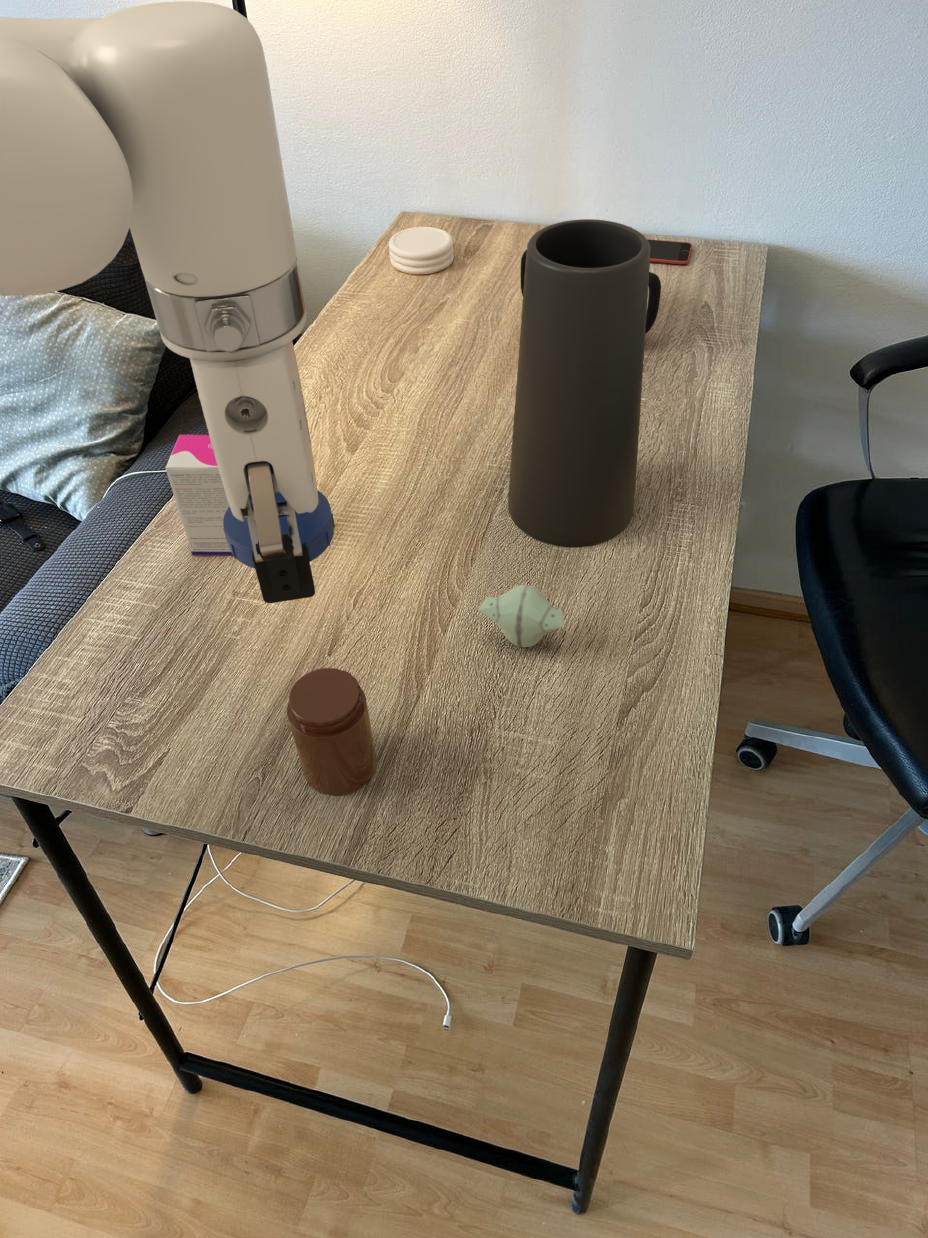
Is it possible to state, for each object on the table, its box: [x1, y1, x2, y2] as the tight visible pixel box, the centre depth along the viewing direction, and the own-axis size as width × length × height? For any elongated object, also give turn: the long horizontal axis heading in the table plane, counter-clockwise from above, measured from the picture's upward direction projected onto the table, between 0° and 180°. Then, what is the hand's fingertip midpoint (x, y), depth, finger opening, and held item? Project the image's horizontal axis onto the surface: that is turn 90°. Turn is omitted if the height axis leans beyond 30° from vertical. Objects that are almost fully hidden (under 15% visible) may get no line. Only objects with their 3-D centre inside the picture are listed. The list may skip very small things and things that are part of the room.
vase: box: [507, 218, 651, 548], centre depth 88 cm, size 14×14×29 cm
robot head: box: [477, 584, 565, 648], centre depth 82 cm, size 8×4×7 cm, turn 73°
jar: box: [286, 667, 378, 796], centre depth 72 cm, size 6×6×9 cm
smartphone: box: [646, 238, 693, 265], centre depth 139 cm, size 7×1×14 cm
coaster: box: [388, 226, 455, 276], centre depth 139 cm, size 10×10×4 cm
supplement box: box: [165, 434, 234, 556], centre depth 92 cm, size 6×6×12 cm
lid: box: [223, 489, 336, 569], centre depth 56 cm, size 7×7×2 cm
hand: (286, 556), depth 58 cm, fingers closed on lid, 6 cm apart
